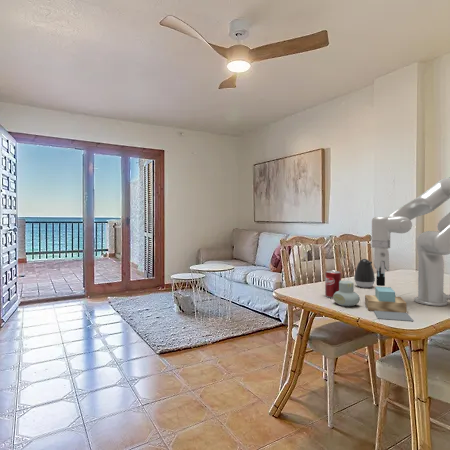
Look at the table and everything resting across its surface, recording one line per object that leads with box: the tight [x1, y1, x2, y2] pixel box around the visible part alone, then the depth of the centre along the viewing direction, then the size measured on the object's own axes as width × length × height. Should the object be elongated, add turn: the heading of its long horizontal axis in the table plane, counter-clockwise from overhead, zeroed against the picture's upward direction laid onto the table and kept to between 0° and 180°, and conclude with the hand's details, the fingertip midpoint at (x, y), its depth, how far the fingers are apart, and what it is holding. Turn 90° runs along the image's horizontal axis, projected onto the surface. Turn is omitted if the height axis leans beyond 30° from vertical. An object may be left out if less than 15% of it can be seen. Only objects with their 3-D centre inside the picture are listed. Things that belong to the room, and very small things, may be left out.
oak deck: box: [364, 294, 408, 314], centre depth 136 cm, size 14×10×4 cm
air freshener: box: [332, 280, 361, 307], centre depth 142 cm, size 11×8×10 cm
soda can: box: [324, 270, 342, 299], centre depth 156 cm, size 7×7×12 cm
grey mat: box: [373, 311, 414, 322], centre depth 126 cm, size 12×10×1 cm
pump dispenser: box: [353, 258, 376, 289], centre depth 176 cm, size 10×10×15 cm
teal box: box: [374, 286, 396, 302], centre depth 136 cm, size 6×9×4 cm, turn 163°
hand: (380, 285), depth 145 cm, fingers closed
